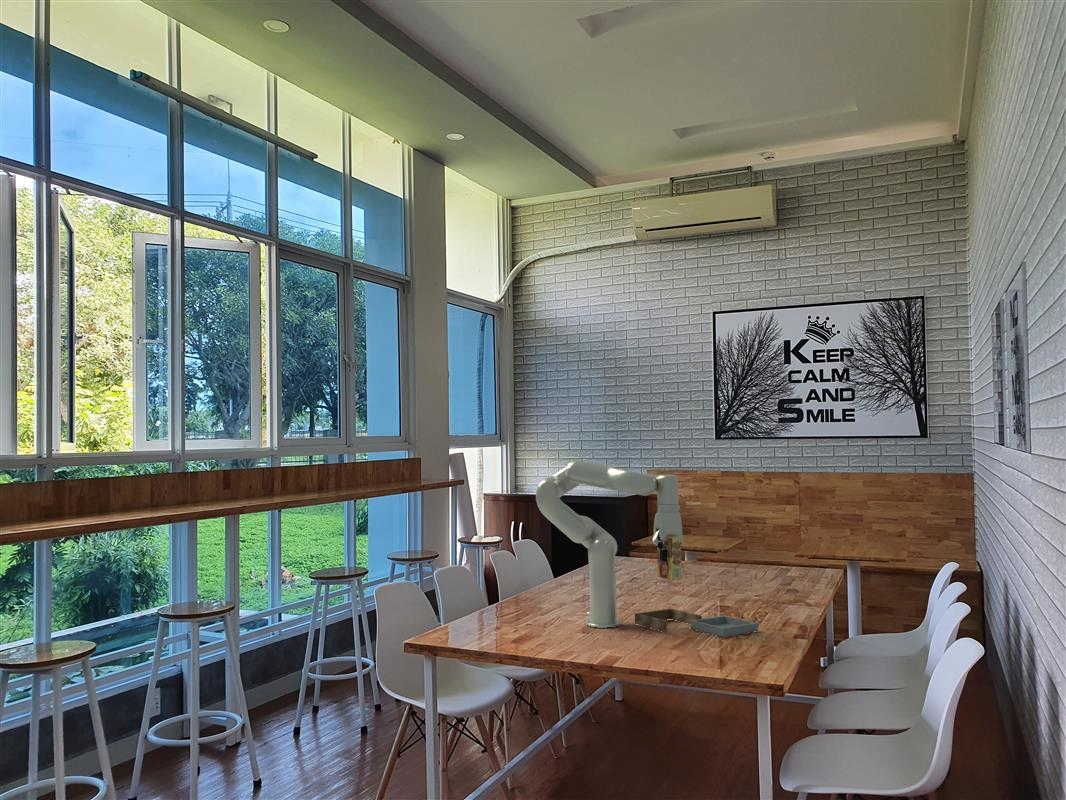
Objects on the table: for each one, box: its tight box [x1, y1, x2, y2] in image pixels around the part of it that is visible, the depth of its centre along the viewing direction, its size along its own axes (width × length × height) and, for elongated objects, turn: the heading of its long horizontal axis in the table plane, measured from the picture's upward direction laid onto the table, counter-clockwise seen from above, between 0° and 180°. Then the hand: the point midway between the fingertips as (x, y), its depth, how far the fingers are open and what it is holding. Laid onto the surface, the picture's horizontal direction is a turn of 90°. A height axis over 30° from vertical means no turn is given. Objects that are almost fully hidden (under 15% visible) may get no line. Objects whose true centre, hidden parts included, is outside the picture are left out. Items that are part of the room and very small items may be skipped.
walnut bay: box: [634, 607, 703, 633], centre depth 291 cm, size 16×17×4 cm
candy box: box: [656, 535, 682, 581], centre depth 291 cm, size 9×4×15 cm, turn 29°
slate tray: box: [690, 615, 759, 638], centre depth 282 cm, size 16×16×3 cm
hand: (668, 560), depth 291 cm, fingers closed on candy box, 4 cm apart
